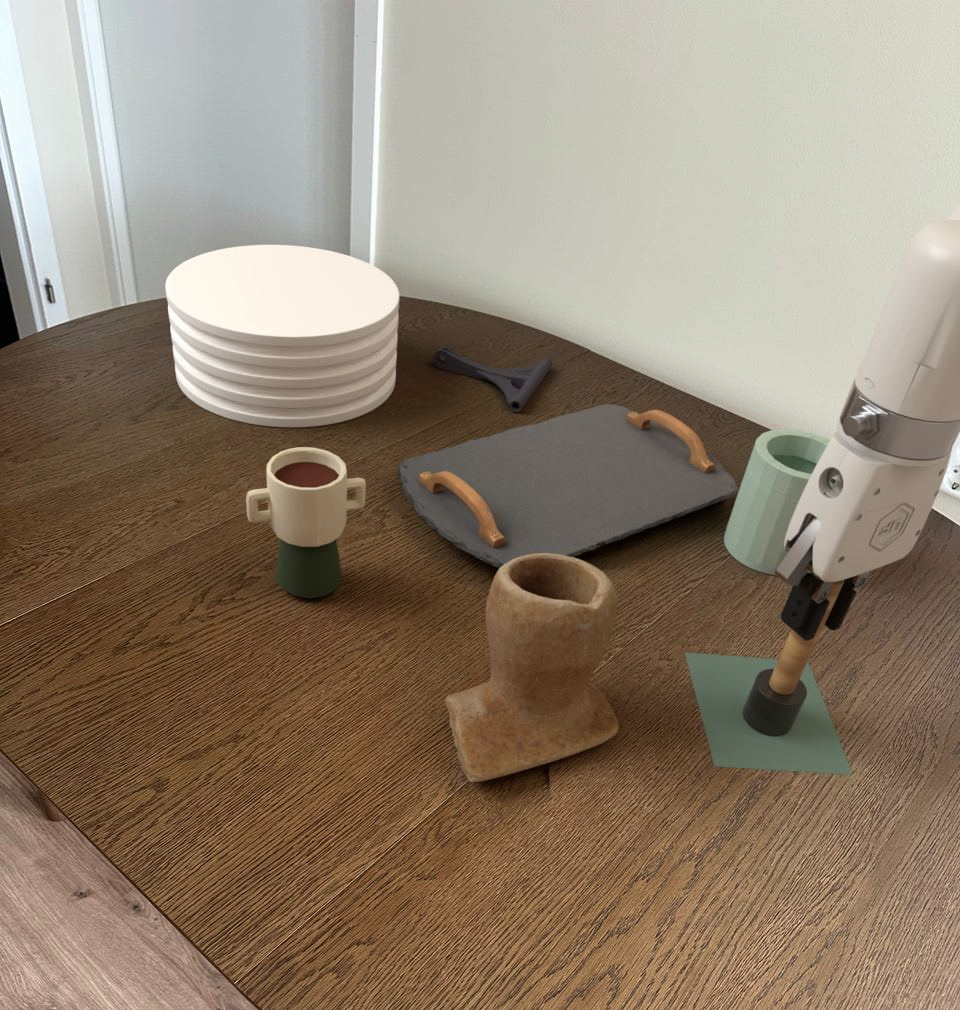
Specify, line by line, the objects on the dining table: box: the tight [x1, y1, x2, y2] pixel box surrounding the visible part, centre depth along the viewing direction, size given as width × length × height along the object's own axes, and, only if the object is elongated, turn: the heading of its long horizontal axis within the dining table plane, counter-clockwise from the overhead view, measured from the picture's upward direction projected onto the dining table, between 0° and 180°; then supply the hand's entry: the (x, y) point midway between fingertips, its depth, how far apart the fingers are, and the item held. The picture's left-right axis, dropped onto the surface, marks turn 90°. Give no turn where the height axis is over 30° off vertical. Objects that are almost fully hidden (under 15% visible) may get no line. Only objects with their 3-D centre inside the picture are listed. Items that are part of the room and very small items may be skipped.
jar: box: [723, 428, 831, 576], centre depth 100 cm, size 10×10×12 cm
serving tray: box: [396, 403, 740, 569], centre depth 106 cm, size 39×23×6 cm, turn 126°
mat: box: [684, 652, 854, 776], centre depth 84 cm, size 12×14×1 cm
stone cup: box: [444, 553, 619, 783], centre depth 75 cm, size 15×12×15 cm
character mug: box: [245, 446, 367, 599], centre depth 87 cm, size 11×7×13 cm, turn 111°
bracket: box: [432, 346, 553, 413], centre depth 127 cm, size 14×15×3 cm
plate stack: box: [164, 244, 400, 428], centre depth 119 cm, size 28×28×12 cm
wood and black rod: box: [743, 573, 845, 736], centre depth 78 cm, size 4×4×16 cm
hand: (809, 623), depth 76 cm, fingers closed on wood and black rod, 2 cm apart
